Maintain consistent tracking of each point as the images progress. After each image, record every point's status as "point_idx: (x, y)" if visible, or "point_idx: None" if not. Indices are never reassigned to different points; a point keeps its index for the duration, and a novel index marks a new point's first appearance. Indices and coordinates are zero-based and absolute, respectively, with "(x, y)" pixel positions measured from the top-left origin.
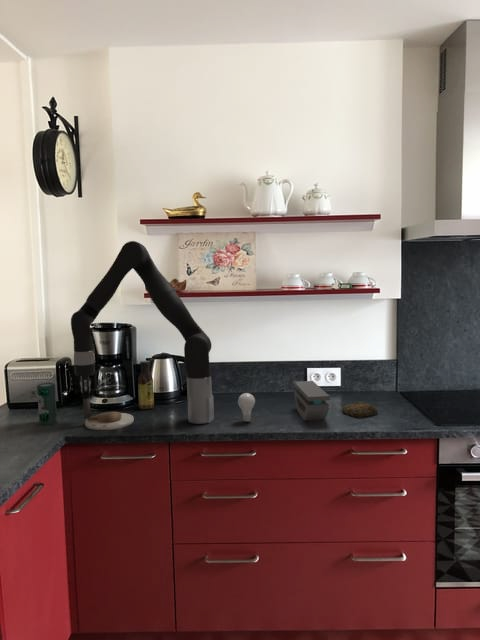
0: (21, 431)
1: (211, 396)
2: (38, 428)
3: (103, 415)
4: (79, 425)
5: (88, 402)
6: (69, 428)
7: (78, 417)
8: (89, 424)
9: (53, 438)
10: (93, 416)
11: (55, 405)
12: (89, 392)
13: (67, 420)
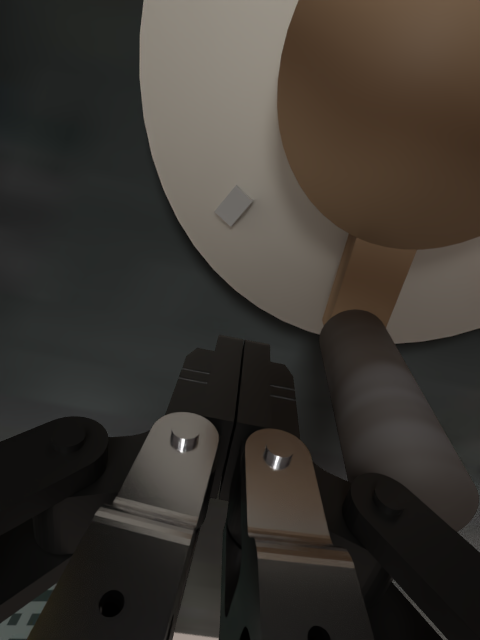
0: (219, 597)
1: None
2: (212, 543)
3: (406, 168)
4: (302, 359)
5: (453, 451)
6: (330, 426)
7: (68, 318)
8: (433, 322)
9: (471, 527)
10: (363, 281)
11: None
12: (84, 429)
13: (118, 398)
